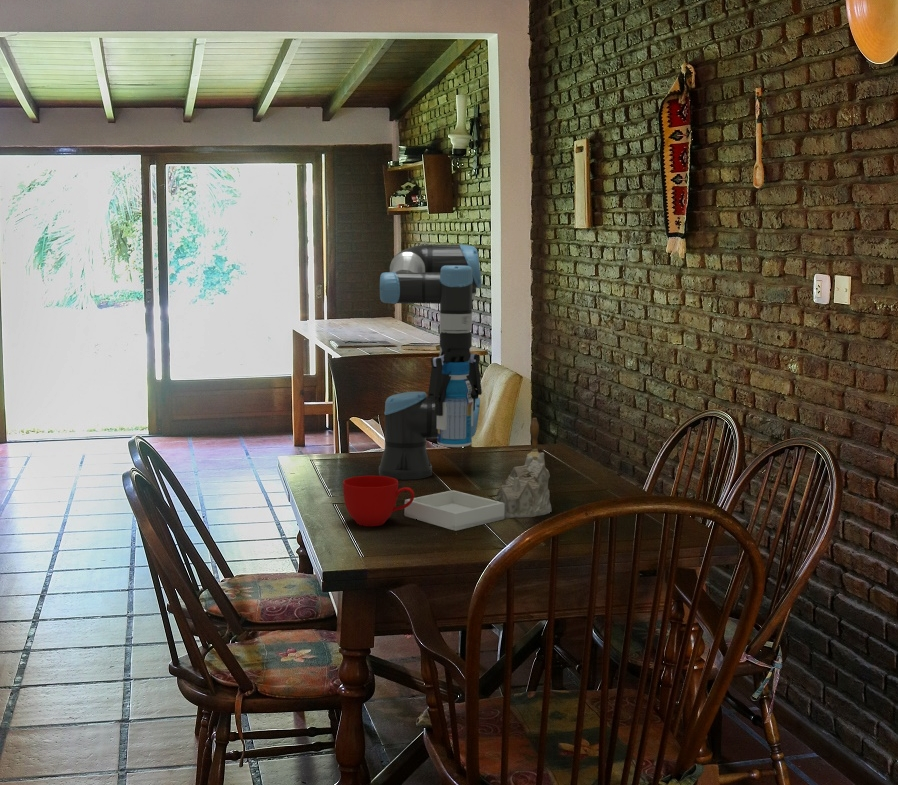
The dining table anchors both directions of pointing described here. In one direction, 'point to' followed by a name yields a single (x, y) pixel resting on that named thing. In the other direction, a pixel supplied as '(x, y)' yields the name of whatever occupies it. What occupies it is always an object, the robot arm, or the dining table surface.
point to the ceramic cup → (372, 498)
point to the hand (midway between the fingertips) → (455, 427)
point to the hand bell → (534, 439)
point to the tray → (455, 510)
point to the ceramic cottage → (526, 490)
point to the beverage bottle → (457, 406)
